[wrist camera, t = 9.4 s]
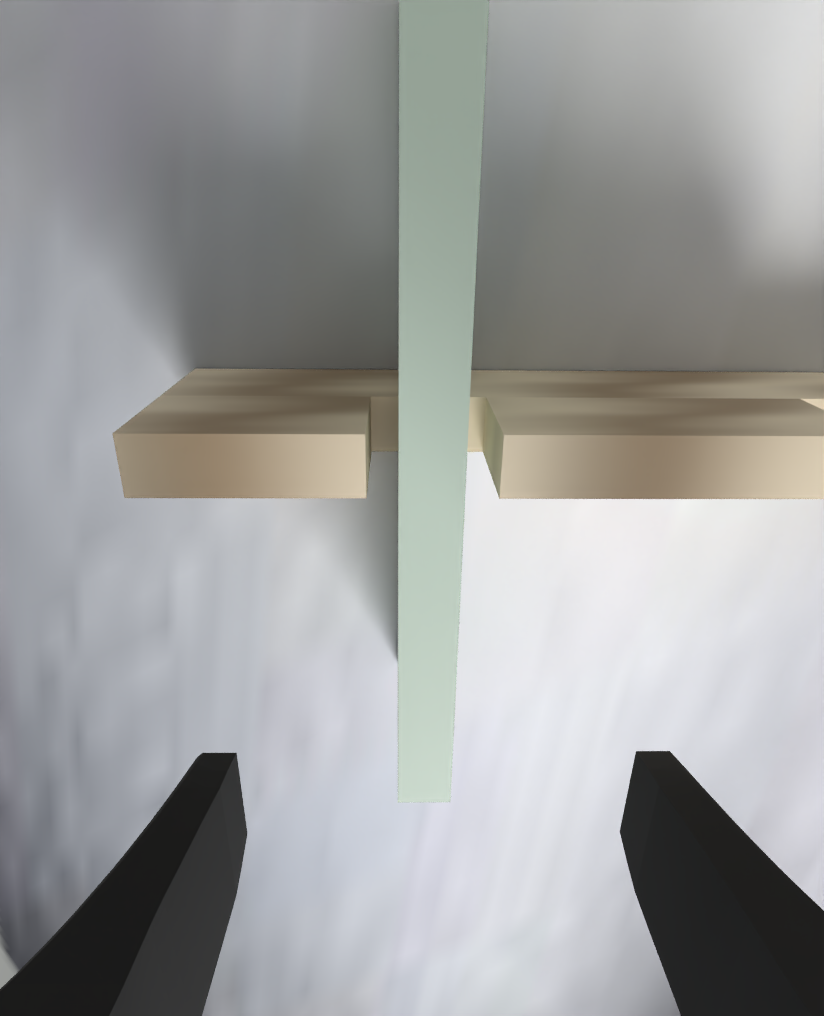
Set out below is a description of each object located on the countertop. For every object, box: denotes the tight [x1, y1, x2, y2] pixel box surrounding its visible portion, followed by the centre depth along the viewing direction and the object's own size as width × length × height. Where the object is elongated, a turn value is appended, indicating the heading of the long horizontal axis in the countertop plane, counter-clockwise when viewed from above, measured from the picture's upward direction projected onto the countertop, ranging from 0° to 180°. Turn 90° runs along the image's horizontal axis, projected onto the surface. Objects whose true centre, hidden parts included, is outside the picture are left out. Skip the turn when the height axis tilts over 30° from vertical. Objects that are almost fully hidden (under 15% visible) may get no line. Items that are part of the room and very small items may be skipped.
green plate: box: [398, 0, 489, 803], centre depth 14 cm, size 16×1×5 cm, turn 179°
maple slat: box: [113, 368, 824, 499], centre depth 14 cm, size 20×1×5 cm, turn 89°
